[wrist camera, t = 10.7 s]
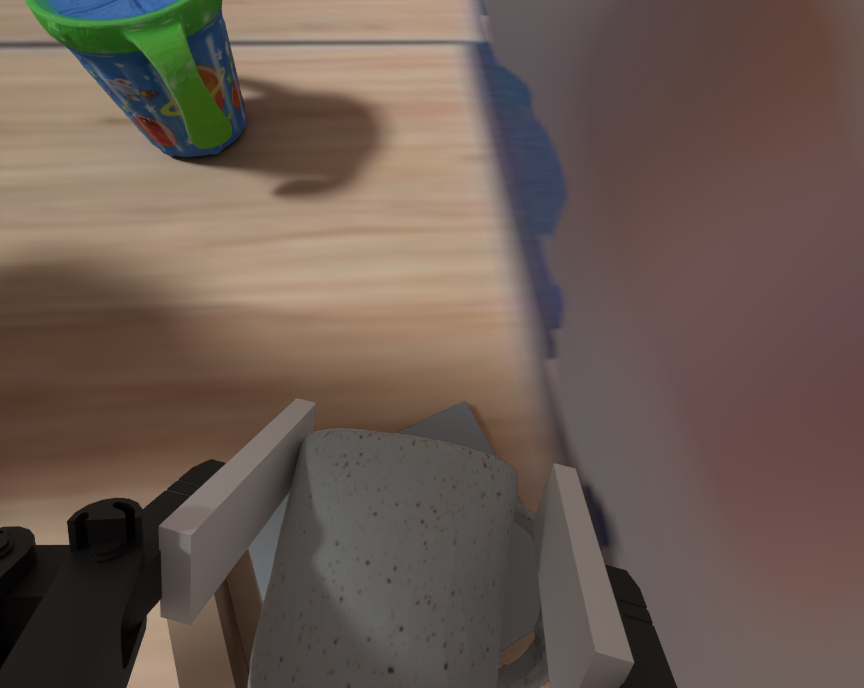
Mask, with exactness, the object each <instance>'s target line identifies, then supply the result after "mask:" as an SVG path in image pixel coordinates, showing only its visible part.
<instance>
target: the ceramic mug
mask: <svg viewBox="0 0 864 688" xmlns="http://www.w3.org/2000/svg"><path fill="white" fill-rule="evenodd" d="M516 491H517V471H516V470H515V468H514V467H512V466H511V465H510V464H509V463H507V462H506V461H504V460H501V459H500V458H498V457H495V456H493V455H490V454H487V453H484V452H481V451H476V450H473V449H470V448H467V447H465V446H461V445H456V444H452V443H448V442H445V441H440V440H433V439H428V438H422V437H417V436H412V435H402V434H398V433H388V432H379V431H371V430H363V429H352V428H328V429H324V430H317V431H313V432H311V433H309V434H307V435H306V436H305V438H304V439H303V441H302V443H301V446H300V450H299V455H298V460H297V464H296V469H295V473H294V477H293V481H292V485H291V489H290V494H289V498H288V501H287V505H286V510H285V514H284V518H283V522H282V526H281V529H280V534H279V539H278V543H277V548H276V552H275V557H274V561H273V567H272V571H271V575H270V579H269V583H268V587H267V591H266V594H265V598H264V602H263V605H262V609H261V613H260V617H259V621H258V625H257V630H256V635H255V639H254V644H253V649H252V654H251V659H250V672H249V680H248V688H539V687H541V686H542V685H544V684H545V683H546V682H547V681H548V680H549V671H548V662H547V653H546V644H545V635H544V626H543V617H542V608H541V603H540V610H539V617H538V620H537V622H536V624H535V639H534V641H533V642H532V644H531V645H530V647H529V649H528V650H527V651H526V652H525V653H524V654H523V655H522V656H521V657H520V658H519V659H517V660H516V661H515V662H513V663H511V664H509V665H504V666H502V667H501V668H499V657H500V643H501V626H502V614H503V604H504V596H505V588H506V579H507V571H508V562H509V552H510V544H511V536H512V527H513V521H515V522H516V523H517V524H518V525H519V526H521V527H522V528H523V529H524V530H526V531H527V532H528V534H529V535H530V536H531V538H532V539H533V540H534V535H533V526H532V525H533V522H534V519H535V516H536V514H534V513H533V512H531V511H530V510H528V509H527V508H525V507H523V506H521V505H519V504H517V503H515V502H516Z"/></svg>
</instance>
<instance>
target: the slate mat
mask: <svg viewBox="0 0 864 688" xmlns="http://www.w3.org/2000/svg"><path fill="white" fill-rule="evenodd" d="M397 433H398V434H402V435H412V436H417V437H422V438H428V439H433V440H440V441H445V442H448V443H452V444H456V445H461V446H465V447H467V448H470V449H473V450H476V451H481V452H484V453H487V454H490V455H493V456H495V457H496V455H495V453H494V452H493V450H492V448H491V446H490V444H489V442H488V441H487V439H486V437H485V435H484V433H483V431H482V430H481V428H480V426H479V424H478V422H477V420H476V418H475V417H474V415H473V413H472V411H471V409H470V407H469V406H468V404H467V402H466V401H464V402H462V403H460V404H458V405H455V406H453V407H451V408H449V409H447V410H445V411H443V412H440V413H438V414H436V415H434V416H432V417H430V418H427V419H425V420H423V421H421V422H419V423H417V424H415V425H412V426H410V427H408V428H406V429H404V430H402V431H400V432H397ZM289 494H290V492H289V493H288V495H287V496H286V497H285V499H284V500H283V501H282V503H281V504H280V505H279V507H278V508H277V510H276V511H275V512H274V514H273V515H272V516H271V518H270V519H269V520H268V522H267V523H266V524H265V526H264V527H263V528H262V530H261V531H260V532H259V534H258V535H257V537H256V538H255V539H254V541H253V542H252V543H251V545H250V546H249V547H248V549H249V553H250V557H251V561H252V564H253V568H254V572H255V575H256V579H257V583H258V586H259V590H260V594H261V598H262V601H263V602H264V598H265V594H266V591H267V587H268V583H269V579H270V575H271V571H272V567H273V561H274V557H275V552H276V548H277V543H278V539H279V534H280V529H281V526H282V522H283V518H284V514H285V510H286V505H287V501H288V498H289ZM515 503H517V504H519V505H521V506H523V505H522V503H521V501H520V500H519V498H518V496H517V494H516V502H515ZM540 603H541V599H540V590H539V581H538V571H537V562H536V553H535V544H534V540H533V539H532V538H531V536H530V535H529V534H528V532H527V531H526V530H524V529H523V528H522V527H521V526H519V525H518V524H517V523H516V522H515V521H513V527H512V536H511V544H510V552H509V562H508V571H507V579H506V588H505V596H504V604H503V614H502V626H501V643H500V651H502V650H504V649H505V648H507V647H508V646H510V645H512V644H513V643H515V642H516V641H518V640H519V639H521V638H523V637H524V636H526V635H527V634H529V633H531V632H532V631H534V630H535V624H536V622H537V620H538V617H539V610H540Z"/></svg>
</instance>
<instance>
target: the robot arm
mask: <svg viewBox="0 0 864 688" xmlns="http://www.w3.org/2000/svg"><path fill="white" fill-rule="evenodd" d="M315 411H316V403H315V402H311V401H307V400H303V399H299V398H296V399H295V400H294V401H293V402H292V403H291V404H290V405H288V406H287V407H286V408H285V409H284V410H283V411H282V412H281V413H280V414H279V415H278V416H277V417H276V418H274V419H273V420H272V421H271V422H270V423H269V424H268V425H267V426H266V427H265V428H264V429H263V430H262V431H260V432H259V433H258V434H257V435H256V436H255V437H254V438H253V439H252V440H251V441H250V442H249V443H248V444H246V445H245V446H244V447H243V448H242V449H241V450H240V451H239V452H238V453H237V454H236V455H235V456H234V457H232V458H231V459H230V460H229V461H228V462H227V463H223V462H219V461H216V460H212V459H210V460H208V461H206V462H204V463H201V464H199V465H197V466H195V467H193V468H191V469H190V470H189V471H188V472H187V473H186V474H184V475H183V476H182V477H181V478H180V479H179V481H176V482H175V483H174V484H172V485H171V486H170V487H169V488H168V490H167V491H164V492H163V493H162V494H161V495H159V496H158V497H157V498H156V499H155V500H153V501H152V502H151V503H150V504H149V505H147V506H146V507H145V508H144V509H143V510H142V508H141V506H140V505H139V503H138V502H135V501H133V500H131V499H126V498H112V499H105V500H101V501H98V502H95V503H92V504H89V505H87V506H85V507H84V508H82V509H80V510H79V511H77V512H75V513H74V514H73V515H72V517H71V518H70V519H69V520H68V521H67V525H68V534H69V543H70V545H36V543H35V537H34V534H33V533H32V532H31V531H30V530H29V529H26V528H22V527H19V526H17V527H1V528H0V688H126V687H127V684H128V681H129V678H130V675H131V672H132V669H133V666H134V663H135V660H136V657H137V654H138V651H139V648H140V645H141V642H142V639H143V636H144V633H145V630H146V622H147V614H148V613H149V612H150V611H151V610H152V608H153V607H154V606H155V605H156V604H157V603H158V602H159V600H160V607H161V617H163V618H167V619H170V620H173V621H177V622H180V623H183V624H186V625H190V626H191V624H192V623H193V621H194V620H195V619H196V617H197V616H198V615H199V613H200V612H201V611H202V609H203V608H204V607H205V605H206V604H207V603H208V601H209V600H210V599H211V597H212V596H213V594H214V593H215V592H216V590H217V589H218V588H219V586H220V585H221V584H222V582H223V581H224V580H225V578H226V577H227V576H228V574H229V573H230V572H231V570H232V569H233V568H234V566H235V565H236V563H237V562H238V561H239V559H240V558H241V557H242V555H243V554H244V553H245V551H246V550H247V549H248V547H249V546H250V545H251V543H252V542H253V541H254V539H255V538H256V537H257V535H258V534H259V532H260V531H261V530H262V528H263V527H264V526H265V524H266V523H267V522H268V520H269V519H270V518H271V516H272V515H273V514H274V512H275V511H276V510H277V508H278V507H279V505H280V504H281V503H282V501H283V500H284V499H285V497H286V496H287V495H288V493H289V492H290V489H291V485H292V481H293V477H294V473H295V469H296V464H297V460H298V455H299V450H300V446H301V443H302V441H303V439H304V438H305V436H306V435H307V434H309V433H311V432H313V428H314V419H315ZM532 526H533V535H534V544H535V553H536V562H537V571H538V581H539V590H540V599H541V608H542V617H543V626H544V635H545V644H546V653H547V662H548V671H549V681H550V688H677V686H676V683H675V681H674V678H673V676H672V673H671V670H670V667H669V665H668V662H667V659H666V657H665V654H664V651H663V649H662V647H661V644H660V641H659V638H658V636H657V633H656V630H655V628H654V626H652V620H651V617H650V614H649V612H648V610H646V608H647V606H646V604H645V601H644V598H643V596H642V593H641V590H640V588H639V587H638V586H637V584H636V583H635V581H634V580H633V579H632V577H631V576H630V575H629V573H628V572H627V571H626V570H623V569H619V568H616V567H612V566H608V565H605V564H604V561H603V558H602V554H601V551H600V548H599V544H598V541H597V538H596V535H595V531H594V528H593V525H592V521H591V518H590V515H589V511H588V508H587V505H586V501H585V498H584V495H583V492H582V488H581V485H580V482H579V478H578V475H577V472H576V469H575V468H571V467H567V466H563V465H559V464H555V463H554V464H553V467H552V470H551V472H550V475H549V478H548V481H547V484H546V487H545V490H544V493H543V496H542V499H541V502H540V504H539V507H538V510H537V513H536V516H535V519H534V522H533V525H532Z"/></svg>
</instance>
